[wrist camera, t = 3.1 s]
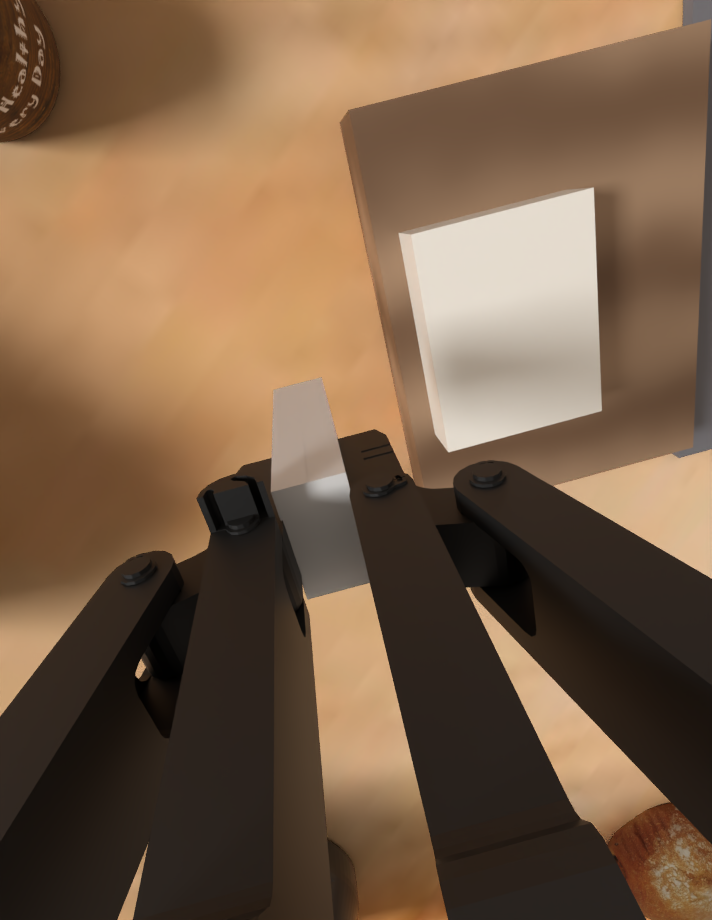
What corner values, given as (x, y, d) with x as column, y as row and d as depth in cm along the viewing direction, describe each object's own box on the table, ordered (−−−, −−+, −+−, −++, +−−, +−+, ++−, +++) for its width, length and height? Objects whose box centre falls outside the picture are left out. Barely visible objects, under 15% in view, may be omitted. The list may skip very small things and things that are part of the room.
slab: (576, 395, 26) (602, 410, 24) (435, 434, 26) (448, 452, 24) (565, 189, 22) (593, 187, 20) (398, 233, 22) (410, 234, 20)
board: (656, 427, 31) (693, 447, 28) (416, 492, 30) (430, 519, 28) (660, 42, 23) (711, 19, 20) (339, 122, 23) (348, 110, 20)
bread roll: (676, 809, 53) (770, 875, 46) (616, 903, 50) (707, 988, 43) (645, 755, 49) (743, 818, 42) (577, 854, 46) (671, 939, 39)
